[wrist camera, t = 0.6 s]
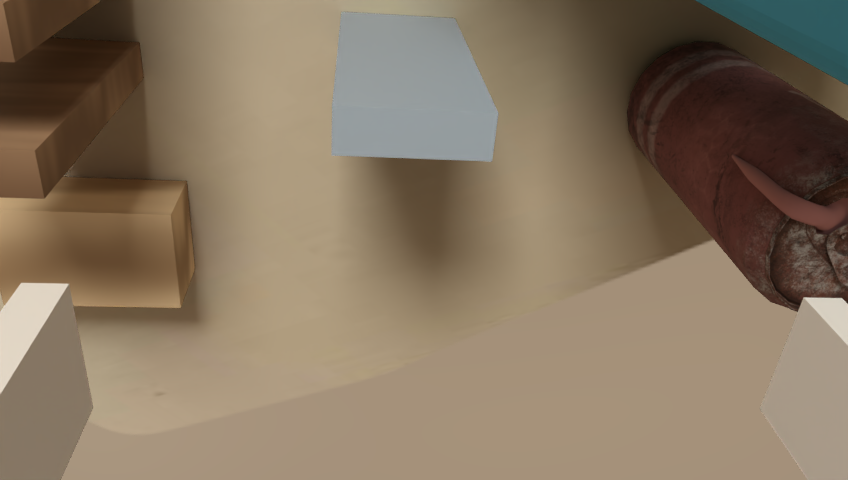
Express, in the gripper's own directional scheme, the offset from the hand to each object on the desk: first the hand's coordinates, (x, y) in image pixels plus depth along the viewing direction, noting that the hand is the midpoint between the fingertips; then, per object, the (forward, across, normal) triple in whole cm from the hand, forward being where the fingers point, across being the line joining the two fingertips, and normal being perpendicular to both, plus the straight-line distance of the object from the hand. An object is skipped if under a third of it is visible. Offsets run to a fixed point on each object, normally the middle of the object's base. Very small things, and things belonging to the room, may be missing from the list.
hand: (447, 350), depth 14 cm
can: (+23, +14, -2) cm, 27 cm away
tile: (+22, 0, 0) cm, 22 cm away
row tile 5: (+22, -14, -2) cm, 26 cm away
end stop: (+22, -14, -10) cm, 28 cm away
